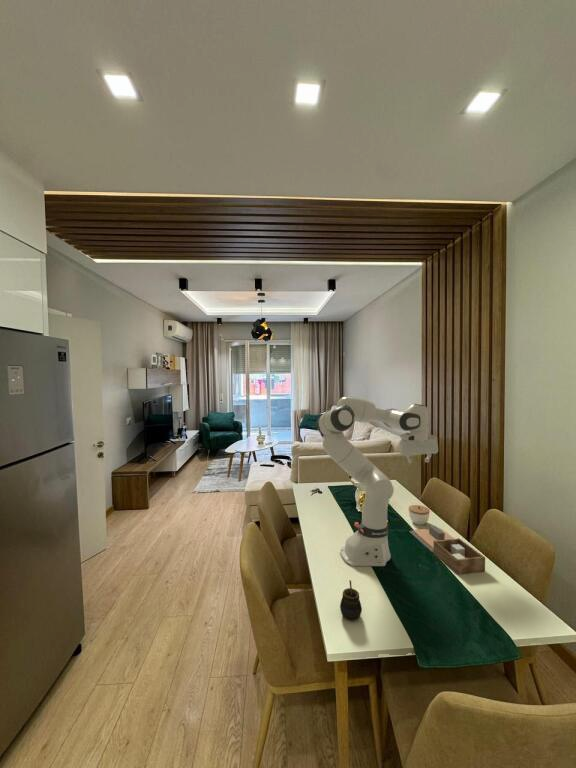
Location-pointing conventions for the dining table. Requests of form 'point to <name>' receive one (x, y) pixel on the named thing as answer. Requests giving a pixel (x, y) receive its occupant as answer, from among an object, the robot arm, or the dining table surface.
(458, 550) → the grey block
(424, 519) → the lidded jar
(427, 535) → the lid
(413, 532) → the rubber mat
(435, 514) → the dining table surface
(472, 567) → the walnut box
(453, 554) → the cream block
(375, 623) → the dining table surface
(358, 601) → the mate gourd
